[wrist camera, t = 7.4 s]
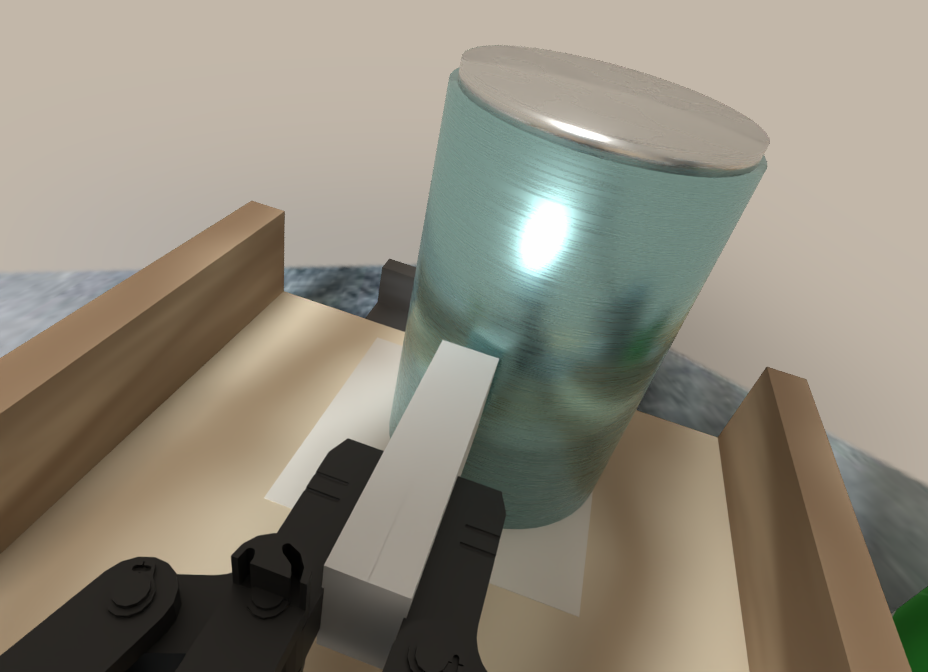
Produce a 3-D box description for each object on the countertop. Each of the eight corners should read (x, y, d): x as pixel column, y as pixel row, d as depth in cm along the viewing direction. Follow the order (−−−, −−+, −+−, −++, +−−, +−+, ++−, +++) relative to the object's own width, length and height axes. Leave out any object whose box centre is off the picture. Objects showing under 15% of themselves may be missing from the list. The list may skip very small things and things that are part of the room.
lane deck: (714, 407, 30) (780, 306, 26) (821, 1195, 11) (1123, 1259, 7) (309, 272, 32) (314, 161, 28) (-180, 734, 13) (-370, 589, 9)
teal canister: (612, 410, 24) (766, 107, 16) (575, 570, 18) (797, 196, 10) (439, 341, 25) (508, 32, 18) (347, 466, 19) (394, 68, 11)
